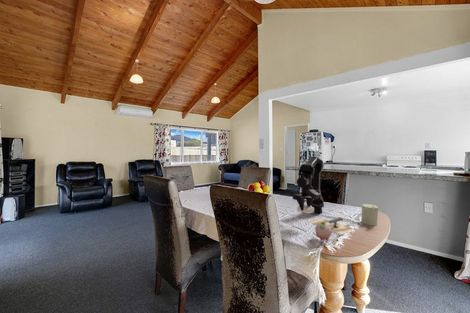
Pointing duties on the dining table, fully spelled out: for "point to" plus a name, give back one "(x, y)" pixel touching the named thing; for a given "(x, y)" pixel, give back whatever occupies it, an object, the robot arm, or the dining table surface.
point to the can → (369, 214)
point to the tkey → (336, 221)
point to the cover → (306, 209)
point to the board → (338, 229)
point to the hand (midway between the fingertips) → (305, 209)
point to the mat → (298, 228)
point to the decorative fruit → (323, 231)
